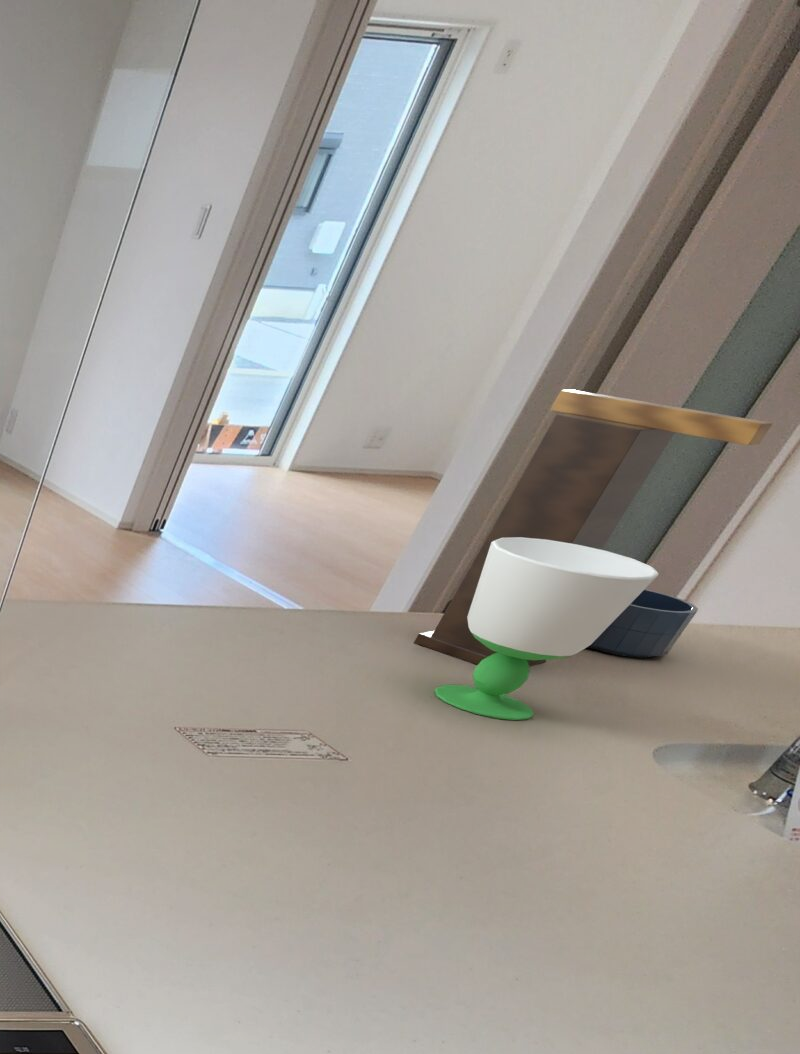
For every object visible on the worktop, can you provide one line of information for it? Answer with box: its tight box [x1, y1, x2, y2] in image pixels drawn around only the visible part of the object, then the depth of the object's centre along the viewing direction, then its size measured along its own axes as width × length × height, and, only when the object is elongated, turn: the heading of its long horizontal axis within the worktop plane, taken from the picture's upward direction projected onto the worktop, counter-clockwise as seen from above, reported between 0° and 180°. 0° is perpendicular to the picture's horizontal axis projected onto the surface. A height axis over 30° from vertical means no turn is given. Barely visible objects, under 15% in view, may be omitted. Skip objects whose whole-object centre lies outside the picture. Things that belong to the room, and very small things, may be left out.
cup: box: [434, 537, 659, 721], centre depth 115 cm, size 14×14×16 cm
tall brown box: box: [413, 413, 676, 667], centre depth 126 cm, size 10×10×26 cm
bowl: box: [587, 588, 699, 659], centre depth 138 cm, size 11×11×6 cm
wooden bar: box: [550, 389, 774, 446], centre depth 116 cm, size 18×2×2 cm, turn 26°
